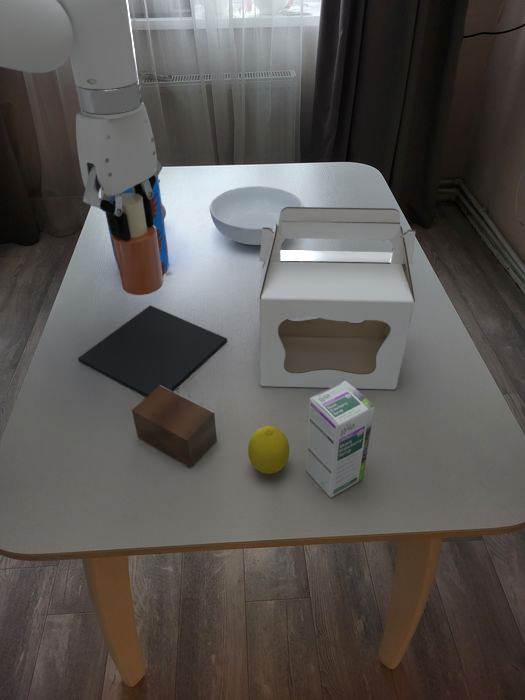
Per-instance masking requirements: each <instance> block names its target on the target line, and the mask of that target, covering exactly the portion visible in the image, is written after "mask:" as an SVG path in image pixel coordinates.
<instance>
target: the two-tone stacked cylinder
mask: <svg viewBox="0 0 525 700" xmlns="http://www.w3.org/2000/svg"><path fill="white" fill-rule="evenodd" d="M122 213H125V214H126V215H127V220H128V225H129V231H130V236H131V237H130V239H129V240H128V241H125V240H123V239H120V238H118V237H115V236H113V235H112V234H111V236H112V241H113V246H114V251H115V256H116V260H115V262H116V261H117V264H116V267H117V266H118V268H117V271H118V275H119V279H120V280H119V281H120V285H121V289H122V290H123V291H124V292H126V293H127V294H129V295H133V296H146V295H150V294H152V293H154V292H157V291H158V290H160V289H161V288H162V287H163V285H164V274H163V275H162V268H161V261H160V254H159V247H158V240H157V233H156V228H155V226H154V225H153V226H151V227H149V226H147V223H146V216H145V210H144V203H143V197H142V196H141V195H139V194H137V193H124V194H122Z"/></svg>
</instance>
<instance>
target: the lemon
mask: <svg viewBox="0 0 525 700" xmlns="http://www.w3.org/2000/svg"><path fill="white" fill-rule="evenodd" d="M247 452H248V453H247V454H248V459H249V461H250V463H251V465H252V466H253V468H254V469H255V470H257V471H258V472H259V473H263V474H266V475H270V474H275V473H278V472H280V471H281V470H282V469H284V467H285V466H286V464H287V463H288V460H289V457H290V444H289V440H288V438H287V436H286V433H284V432H283V430H281V428H278V427H277V426H274V425H264V426H261V427H259V428H257V429H256V430H255V431H254V432H253V434H252V435H251V437H250V439H249V441H248V446H247Z"/></svg>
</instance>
